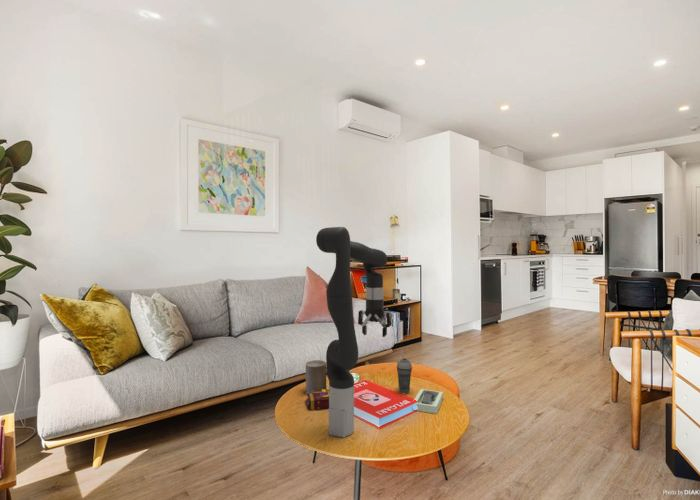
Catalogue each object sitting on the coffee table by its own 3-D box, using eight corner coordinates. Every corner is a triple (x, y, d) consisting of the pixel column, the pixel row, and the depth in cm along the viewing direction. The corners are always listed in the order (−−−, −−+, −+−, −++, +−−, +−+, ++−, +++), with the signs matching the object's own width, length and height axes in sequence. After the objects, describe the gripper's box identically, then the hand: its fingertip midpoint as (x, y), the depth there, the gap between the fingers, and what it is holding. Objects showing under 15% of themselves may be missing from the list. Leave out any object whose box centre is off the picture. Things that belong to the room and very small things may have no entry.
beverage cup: (407, 396, 177) (407, 352, 177) (393, 392, 181) (393, 349, 181) (414, 391, 183) (415, 349, 182) (401, 388, 187) (401, 346, 187)
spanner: (430, 409, 161) (430, 402, 161) (419, 407, 163) (419, 400, 163) (435, 398, 173) (435, 391, 173) (425, 396, 175) (425, 390, 175)
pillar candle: (330, 391, 183) (330, 359, 183) (318, 397, 175) (318, 364, 175) (313, 387, 188) (313, 356, 188) (301, 393, 180) (301, 361, 180)
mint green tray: (436, 414, 159) (436, 406, 159) (412, 410, 162) (412, 402, 162) (442, 398, 174) (443, 392, 174) (420, 395, 178) (420, 388, 178)
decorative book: (344, 408, 164) (344, 396, 164) (305, 411, 161) (305, 399, 161) (339, 398, 175) (339, 387, 175) (304, 400, 172) (304, 389, 172)
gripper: (355, 297, 165) (355, 336, 165) (388, 299, 160) (388, 339, 160) (362, 295, 172) (361, 332, 172) (393, 297, 167) (393, 335, 167)
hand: (374, 335), depth 166 cm, fingers open, 8 cm apart
